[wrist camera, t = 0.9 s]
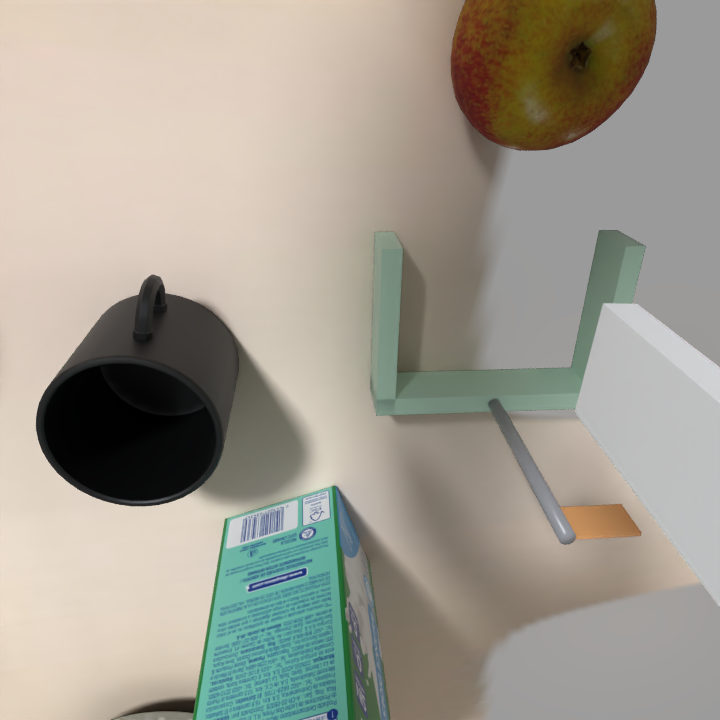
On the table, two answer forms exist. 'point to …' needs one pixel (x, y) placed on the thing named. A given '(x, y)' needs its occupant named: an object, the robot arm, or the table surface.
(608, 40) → the fruit
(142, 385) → the mug
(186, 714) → the planter
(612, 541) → the table surface
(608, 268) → the long-handled green u-channel
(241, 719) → the milk carton
